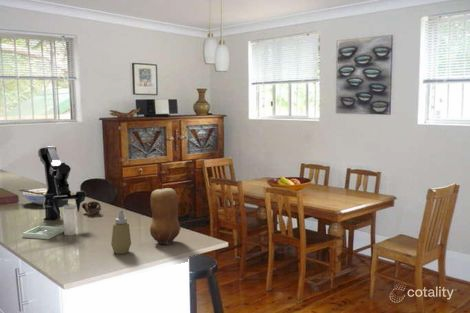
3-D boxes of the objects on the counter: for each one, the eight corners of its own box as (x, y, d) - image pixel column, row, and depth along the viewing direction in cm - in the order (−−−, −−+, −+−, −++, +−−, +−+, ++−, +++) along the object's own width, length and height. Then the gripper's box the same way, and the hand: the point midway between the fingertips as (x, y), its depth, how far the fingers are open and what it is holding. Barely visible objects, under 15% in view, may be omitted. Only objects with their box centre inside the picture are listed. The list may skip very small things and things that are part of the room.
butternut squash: (153, 238, 208) (153, 185, 205) (182, 239, 207) (182, 186, 204) (146, 247, 194) (147, 190, 191) (177, 248, 193) (178, 191, 191)
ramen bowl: (72, 203, 276) (72, 190, 275) (39, 209, 257) (39, 195, 256) (47, 198, 289) (47, 185, 288) (14, 204, 270) (13, 190, 269)
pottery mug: (104, 213, 255) (104, 202, 250) (96, 223, 248) (95, 213, 243) (86, 206, 257) (85, 195, 252) (76, 216, 249) (76, 206, 245)
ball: (40, 237, 202) (40, 230, 202) (45, 235, 205) (44, 228, 205) (47, 238, 201) (47, 231, 201) (51, 236, 205) (51, 229, 204)
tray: (22, 238, 202) (22, 232, 202) (39, 231, 214) (38, 225, 214) (48, 240, 200) (48, 234, 200) (63, 232, 213) (63, 227, 212)
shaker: (61, 236, 207) (61, 206, 206) (67, 232, 213) (67, 203, 211) (72, 236, 206) (72, 206, 205) (78, 233, 212) (77, 204, 210)
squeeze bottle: (113, 249, 191) (112, 207, 189) (132, 249, 191) (132, 207, 189) (109, 255, 183) (109, 212, 181) (129, 255, 183) (129, 212, 181)
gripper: (78, 193, 228) (85, 219, 221) (39, 197, 218) (45, 224, 210) (82, 180, 221) (89, 206, 213) (42, 183, 210) (48, 211, 203)
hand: (68, 212), depth 210 cm, fingers open, 9 cm apart
